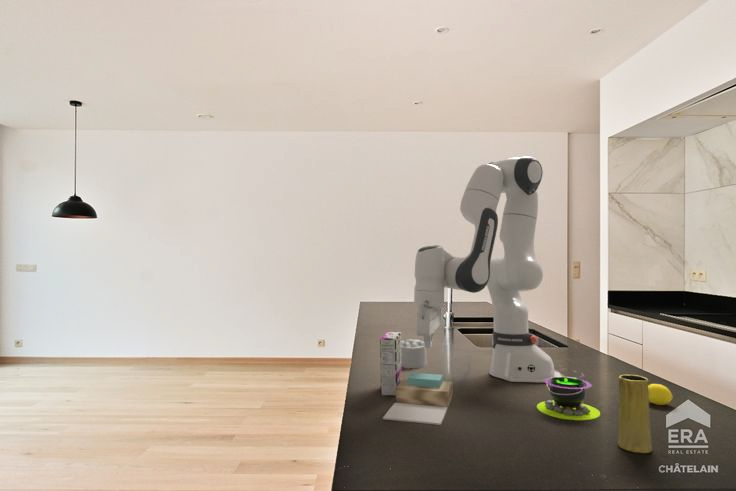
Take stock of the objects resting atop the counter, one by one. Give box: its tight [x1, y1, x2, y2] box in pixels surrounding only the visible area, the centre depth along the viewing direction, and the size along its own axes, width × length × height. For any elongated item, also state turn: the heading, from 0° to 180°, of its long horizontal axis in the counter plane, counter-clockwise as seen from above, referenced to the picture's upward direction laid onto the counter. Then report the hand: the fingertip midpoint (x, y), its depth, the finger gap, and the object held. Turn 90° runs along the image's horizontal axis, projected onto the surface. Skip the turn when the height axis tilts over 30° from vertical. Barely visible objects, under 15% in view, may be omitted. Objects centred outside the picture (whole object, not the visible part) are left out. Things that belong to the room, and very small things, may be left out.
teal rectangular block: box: [407, 372, 444, 388], centre depth 129 cm, size 9×6×2 cm, turn 73°
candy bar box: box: [379, 331, 403, 397], centre depth 136 cm, size 11×5×16 cm, turn 168°
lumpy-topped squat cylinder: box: [401, 338, 428, 369], centre depth 169 cm, size 10×13×9 cm
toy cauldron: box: [536, 365, 601, 421], centre depth 118 cm, size 15×15×11 cm
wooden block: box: [395, 377, 454, 408], centre depth 128 cm, size 14×10×4 cm
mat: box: [382, 402, 448, 426], centre depth 116 cm, size 14×12×1 cm
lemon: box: [648, 383, 674, 406], centre depth 122 cm, size 7×5×5 cm
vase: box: [617, 374, 653, 454], centre depth 95 cm, size 6×6×14 cm
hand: (428, 347), depth 136 cm, fingers closed
